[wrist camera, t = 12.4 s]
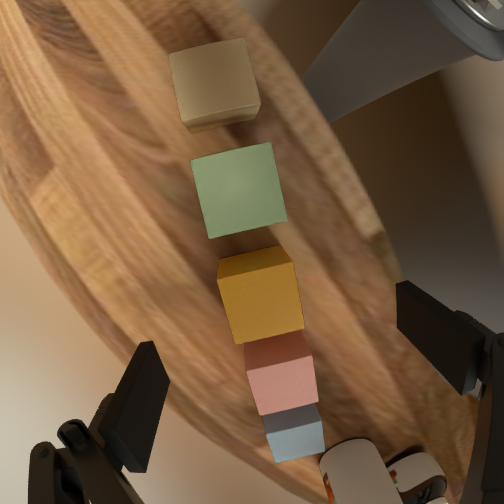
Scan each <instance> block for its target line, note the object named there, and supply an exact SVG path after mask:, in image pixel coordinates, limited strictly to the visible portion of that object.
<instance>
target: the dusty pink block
mask: <svg viewBox="0 0 504 504" xmlns="http://www.w3.org/2000/svg"><path fill="white" fill-rule="evenodd" d="M243 344H244V356H245V368H246V374H247V377H248V380H249V383H250V387H251V390H252V393H253V396H254V400H255V403H256V406H257V409H258V412H259V415H260V416H261V415H266V414H270V413H275V412H279V411H284V410H288V409H292V408H296V407H300V406H304V405H308V404H312V403H315V402H318V401H319V399H318V392H317V385H316V378H315V371H314V365H313V358H312V354H311V352H310V350H309V347H308V345H307V343H306V341H305V338H304V336H303V334H302V332H301V330H296V331H292V332H288V333H284V334H280V335H276V336H271V337H267V338H263V339H258V340H254V341H249V342H245V343H243Z"/></svg>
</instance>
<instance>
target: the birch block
mask: <svg viewBox="0 0 504 504" xmlns="http://www.w3.org/2000/svg"><path fill="white" fill-rule="evenodd" d="M168 58H169V64H170V69H171V74H172V79H173V84H174V89H175V94H176V99H177V104H178V108H179V113H180V118H181V121H182V123H183V124H184V125H185V126H186V127H187V128H188V130H189V131H190V132H191V133H196V132H200V131H204V130H208V129H212V128H216V127H220V126H225V125H229V124H234V123H238V122H243V121H248V120H253V119H255V118H256V115H257V113H258V110H259V108H260V105H261V100H260V96H259V92H258V88H257V84H256V80H255V76H254V72H253V68H252V65H251V61H250V57H249V53H248V50H247V46H246V42H245V39H244V37H241V38H235V39H230V40H224V41H219V42H214V43H210V44H205V45H201V46H196V47H192V48H188V49H184V50H181V51H177V52H173V53H170V54H168Z"/></svg>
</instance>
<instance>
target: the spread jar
mask: <svg viewBox="0 0 504 504" xmlns="http://www.w3.org/2000/svg"><path fill="white" fill-rule="evenodd" d="M385 466H386V468H387V470H388V472H389V474H390V477H391V479H392V481H393V483H394V485H395V487H396V489H397V491H398V493H399V495H400V498H401V500H402V502H403V504H448V502H447V500H446V499H445V497H444V494H445V492H446V488H447V479H446V477H445V474H444V473H443V471H442V469H441V468H440V466H439V465H438V463H437V462H436V460H435V459H434V458H433V457H432V456H431V455H429V454H428V453H426V452H422V451H412V452H407V453H404V454H402V455H399V456H398V457H396V458H394V459H393V460H391V461H390V462H388V463H387V464H386V465H385Z"/></svg>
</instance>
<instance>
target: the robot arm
mask: <svg viewBox="0 0 504 504" xmlns="http://www.w3.org/2000/svg"><path fill="white" fill-rule="evenodd" d="M452 1H453V2H454V3H455V4H456V5H457V6H458V7H459V8H460V9H461V10H462V11H463V12H464V13H465V14H467V15H468V16H469V17H470V18H471V19H473V20H474V21H475V22H476V23H478V24H479V25H481V26H483V27H484V28H486V29H488V30H491V31H494V32H500V31H503V30H504V0H452ZM396 301H397V328H398V329H399V330H400V331H401V332H402V333H403V334H404V335H405V336H406V337H407V338H408V339H409V341H410V342H411V343H412V344H413V345H414V346H415V347H416V348H417V349H418V350H419V351H420V352H421V353H422V354H423V355H424V356H425V357H426V358H427V359H428V360H429V361H430V362H431V364H432V365H433V366H434V367H435V368H436V369H437V370H438V371H439V372H440V373H441V374H442V375H443V376H444V377H445V379H446V380H447V381H448V382H449V383H450V384H451V385H452V386H453V387H454V388H455V389H456V391H457V392H458V393H459V394H460V395H461V396H462V395H464V394H466V393H468V392H469V391H471V390H473V389H474V388H475V385H476V381H477V378H478V379H479V380H480V381H481V382H482V385H481V388H480V392H479V395H478V398H477V401H479V410H478V419H477V426H476V433H475V439H474V445H473V451H472V456H471V461H470V465H469V470H468V474H467V478H466V482H465V486H464V490H463V493H462V497H461V500H460V503H459V504H504V333H499V334H496V333H494V332H493V331H491V330H490V329H488V328H487V327H486V326H484V325H483V324H481V323H479V322H478V321H477V320H476V319H473V317H472V316H470V315H469V314H467V313H465V312H462V311H458V310H457V311H455V312H453V311H452V310H450V309H449V308H448V307H446V306H445V305H443V304H442V303H440V302H439V301H437V300H436V299H435V298H433V297H432V296H430V295H429V294H427V293H426V292H424V291H423V290H422V289H420V288H418V287H417V286H416V285H414V284H413V283H411V282H409V281H408V280H406V281H403V282H400V283H397V284H396ZM169 384H170V379H169V377H168V375H167V373H166V371H165V368H164V366H163V364H162V361H161V359H160V357H159V354H158V352H157V350H156V347H155V345H154V342H153V341H147V342H140V344H139V345H138V347H137V349H136V351H135V353H134V355H133V357H132V359H131V361H130V363H129V365H128V367H127V369H126V371H125V373H124V375H123V377H122V379H121V380H120V383H119V384H118V386H117V389H116V391H115V393H110V394H108V395H107V396H106V397H105V398H104V399H103V400H102V402H101V403H100V405H99V409H97V411H96V413H95V414H96V415H94V418H93V419H92V421H91V423H90V425H89V427H88V428H87V427H86V425H85V424H84V423H83V422H82V420H79V419H72V420H69V421H67V422H65V423H64V424H62V425H61V427H60V428H59V429H58V432H57V436H58V438H59V439H60V440H61V442H62V443H63V444H64V445H65V448H60V449H56V448H55V447H54V446H53V445H52V444H51V442H47V441H46V442H41V443H38V444H37V445H36V446H34V448H33V449H32V451H31V454H30V464H29V481H28V504H90V502H91V503H92V504H144V502H143V501H142V500H141V499H140V497H139V495H138V494H137V493H136V491H135V490H134V488H133V487H132V485H131V484H130V483H129V481H128V480H127V478H126V477H125V475H124V474H123V473H122V472H121V470H122V467H123V465H124V466H125V467H126V468H127V470H128V471H129V472H135V473H146V471H147V466H148V462H149V458H150V454H151V450H152V446H153V443H154V439H155V435H156V431H157V427H158V424H159V420H160V416H161V412H162V409H163V405H164V401H165V398H166V394H167V391H168V387H169ZM479 399H480V400H479ZM89 500H90V502H89Z"/></svg>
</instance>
